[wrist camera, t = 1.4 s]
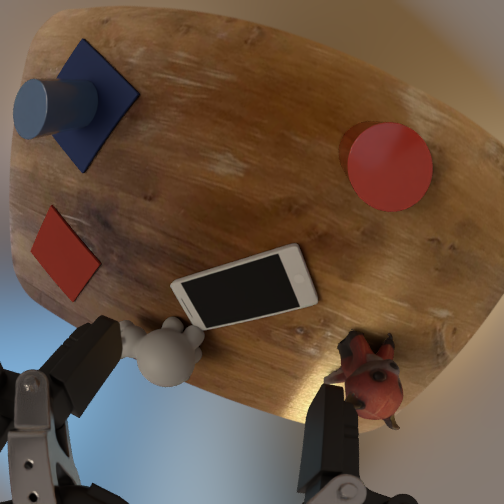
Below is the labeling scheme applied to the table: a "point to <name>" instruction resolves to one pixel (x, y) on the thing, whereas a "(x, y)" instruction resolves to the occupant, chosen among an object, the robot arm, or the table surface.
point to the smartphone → (247, 289)
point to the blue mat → (109, 103)
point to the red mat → (64, 255)
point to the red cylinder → (386, 164)
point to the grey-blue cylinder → (54, 106)
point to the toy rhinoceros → (163, 350)
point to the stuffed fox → (369, 378)
